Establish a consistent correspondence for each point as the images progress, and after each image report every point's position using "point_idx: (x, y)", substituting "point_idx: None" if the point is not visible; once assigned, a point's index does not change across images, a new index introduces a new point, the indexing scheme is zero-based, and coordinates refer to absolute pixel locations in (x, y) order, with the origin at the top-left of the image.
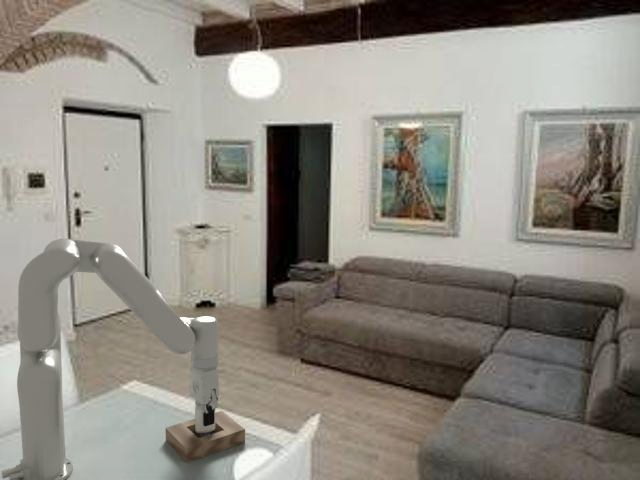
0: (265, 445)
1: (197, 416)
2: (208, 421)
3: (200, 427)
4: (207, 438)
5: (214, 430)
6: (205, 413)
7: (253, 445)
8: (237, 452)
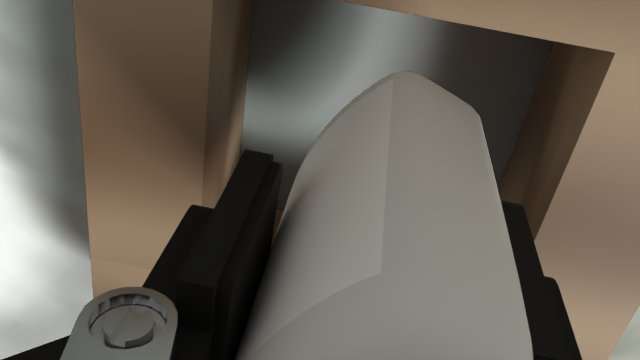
0: (31, 337)
1: (373, 194)
2: (181, 224)
3: (347, 127)
4: (148, 57)
5: None
6: (148, 292)
7: (74, 297)
8: (48, 174)
